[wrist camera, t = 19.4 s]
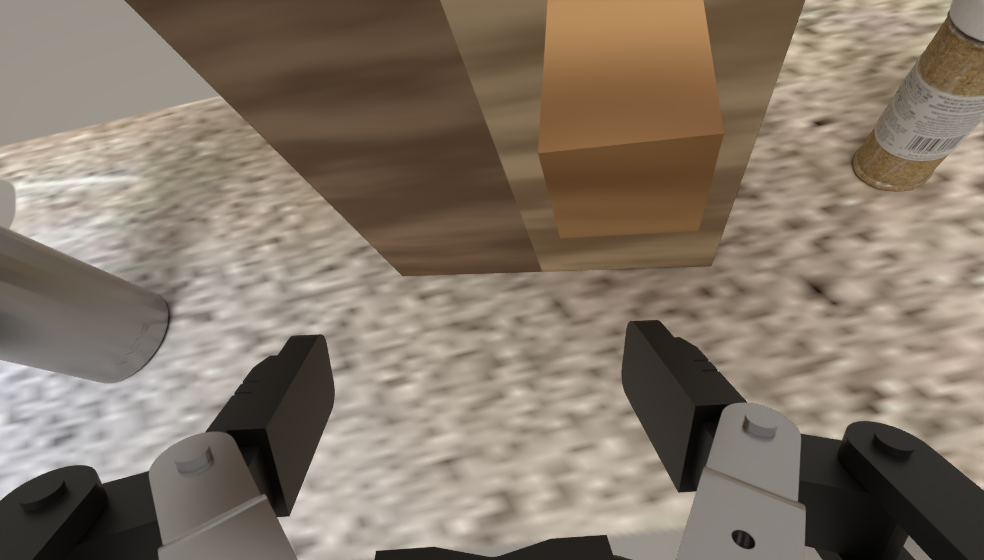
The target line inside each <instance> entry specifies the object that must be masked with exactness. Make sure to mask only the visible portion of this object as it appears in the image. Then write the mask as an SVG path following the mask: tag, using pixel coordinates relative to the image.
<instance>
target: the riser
mask: <svg viewBox="0 0 984 560" xmlns="http://www.w3.org/2000/svg"><path fill="white" fill-rule="evenodd" d="M125 1H126V2H127V3H128V4H129V5H130V6H131V7H132V8H133V9H134V10H135V11H136V12H137V13H138V14H139V15H140V16H141V17H142V18H143V19H144V20H145V21H146V22H147V23H148V24H149V25H150V26H151V27H152V28H153V29H154V30H155V31H156V32H157V33H158V34H159V35H160V36H161V37H162V38H163V39H164V40H165V41H166V42H167V43H168V44H169V45H170V46H171V47H172V48H173V49H174V50H175V51H176V52H177V53H178V54H179V55H180V56H181V57H182V58H183V59H184V60H185V61H186V62H187V63H188V64H189V65H190V66H191V67H192V68H193V69H194V70H195V71H196V72H197V73H198V74H199V75H200V76H201V77H202V78H204V80H205V81H206V82H208V84H210V86H211V87H213V89H214V90H215V91H216V92H218V93H219V94H220V95H221V96H222V97H223V98H224V99H225V100H226V101H227V102H228V103H229V104H230V105H231V106H232V107H233V108H234V109H235V110H236V111H237V112H238V113H239V114H240V115H241V116H242V117H243V118H244V119H245V120H246V121H247V122H248V123H249V124H250V125H251V126H252V127H253V128H254V129H255V130H256V131H257V132H258V133H259V134H260V135H261V136H262V137H263V138H264V139H265V140H266V141H267V142H268V143H269V144H270V145H271V146H272V147H273V148H274V149H275V150H276V151H277V152H278V153H279V154H280V155H281V156H282V157H283V158H284V159H285V160H286V161H287V162H288V163H289V164H290V165H291V166H292V167H293V168H294V169H295V170H296V171H297V172H298V173H299V174H300V175H301V176H302V177H303V178H304V179H305V180H306V181H307V182H308V183H309V184H310V185H311V186H312V187H313V188H314V189H315V190H316V191H317V192H318V193H319V194H320V195H321V196H322V197H323V198H324V199H325V200H326V201H327V202H328V203H329V204H330V205H331V206H332V207H333V208H334V209H335V210H336V211H337V212H338V213H339V214H340V215H341V216H343V217H344V218H345V219H346V220H347V221H348V222H349V223H350V224H351V225H352V226H353V227H354V228H355V229H356V230H357V231H358V232H359V233H360V234H361V235H362V236H363V237H364V238H365V239H366V240H367V241H368V242H369V243H370V244H371V245H372V246H373V247H374V248H375V249H376V250H377V251H378V252H379V253H380V254H381V255H382V256H383V257H384V258H385V259H386V260H387V261H388V262H389V263H390V264H391V265H392V266H393V267H394V268H395V269H396V270H397V271H398V272H399V273H400V274H401V275H402V276H422V275H453V274H483V273H513V272H543V271H574V270H604V269H634V268H665V267H695V266H711V265H712V263H713V260H714V257H715V254H716V251H717V248H718V246H719V243H720V240H721V237H722V234H723V231H724V229H725V226H726V223H727V220H728V217H729V214H730V212H731V209H732V206H733V203H734V200H735V197H736V195H737V192H738V189H739V186H740V183H741V180H742V178H743V175H744V172H745V169H746V166H747V164H748V161H749V158H750V155H751V152H752V149H753V147H754V144H755V141H756V138H757V135H758V132H759V130H760V127H761V124H762V121H763V118H764V115H765V113H766V110H767V107H768V104H769V101H770V98H771V96H772V93H773V90H774V87H775V84H776V81H777V79H778V76H779V73H780V70H781V67H782V65H783V62H784V59H785V56H786V53H787V50H788V48H789V45H790V42H791V39H792V36H793V33H794V31H795V28H796V25H797V22H798V19H799V16H800V14H801V11H802V8H803V5H804V2H805V0H703V1H704V8H705V14H706V20H707V27H708V33H709V40H710V46H711V53H712V59H713V65H714V72H715V78H716V85H717V91H718V98H719V104H720V110H721V117H722V123H723V130H724V136H723V140H722V143H721V147H720V151H719V155H718V159H717V163H716V166H715V170H714V174H713V178H712V182H711V186H710V189H709V193H708V197H707V201H706V205H705V209H704V212H703V216H702V220H701V224H700V228H699V231H687V232H668V233H649V234H631V235H612V236H593V237H575V238H560V236H559V232H558V228H557V225H556V221H555V217H554V213H553V209H552V205H551V202H550V198H549V194H548V190H547V186H546V182H545V179H544V175H543V171H542V167H541V163H540V160H539V156H538V144H539V128H540V112H541V97H542V81H543V66H544V50H545V34H546V19H547V3H548V0H125Z"/></svg>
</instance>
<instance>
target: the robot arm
mask: <svg viewBox="0 0 984 560" xmlns="http://www.w3.org/2000/svg"><path fill="white" fill-rule="evenodd" d="M167 324H168V308H167V305H166V303H165V301H164V300H163V299H162V297H161V296H159V295H157V294H155V293H153V292H150V291H148V290H146V289H144V288H141V287H139V286H137V285H135V284H132V283H130V282H128V281H125V280H123V279H121V278H119V277H117V276H114V275H112V274H110V273H108V272H105V271H103V270H101V269H98V268H96V267H94V266H92V265H89V264H87V263H85V262H82V261H80V260H78V259H76V258H73V257H71V256H69V255H66V254H64V253H62V252H60V251H57V250H55V249H53V248H50V247H48V246H46V245H43V244H41V243H39V242H37V241H34V240H32V239H30V238H27V237H25V236H23V235H21V234H18V233H16V232H14V231H11V230H9V229H7V228H5V227H2V226H0V360H3V361H8V362H12V363H17V364H21V365H26V366H30V367H35V368H39V369H44V370H48V371H53V372H56V373H61V374H65V375H70V376H74V377H79V378H83V379H88V380H93V381H97V382H102V383H115V382H118V381H122V380H124V379H126V378H128V377H130V376H131V375H133V374H134V373H135V372H137V371H138V370H139V369H140V368H141V367H143V366H144V365H145V364H146V363H147V362H148V360H149V359H150V358H151V357H152V355H153V354H154V353H155V351H156V350H157V348H158V347H159V345H160V343H161V341H162V339H163V337H164V334H165V332H166V328H167ZM622 384H623V388H624V392H625V394H626V396H627V398H628V400H629V402H630V404H631V405H632V407H633V409H634V411H635V413H636V415H637V417H638V418H639V420H640V422H641V424H642V426H643V428H644V430H645V431H646V433H647V435H648V437H649V439H650V441H651V443H652V444H653V446H654V448H655V450H656V452H657V454H658V456H659V458H660V459H661V461H662V463H663V465H664V467H665V469H666V471H667V472H668V474H669V476H670V478H671V480H672V482H673V484H674V485H675V487H676V489H677V491H678V492H693V491H696V495H695V498H694V501H693V505H692V508H691V511H690V515H689V518H688V521H687V525H686V528H685V531H684V535H683V538H682V541H681V545H680V548H679V551H678V554H677V558H676V560H804V549H805V546H808V547H813V548H815V549H816V551H817V552H818V554H819V555H820V557H821V558H822V559H823V560H915V559H914V558H913V557H912V556H911V554H910V553H909V552H908V551H907V550H906V549H905V548H904V547H903V546H904V544H905V542H906V539H907V537H908V535H909V536H910V537H911V538H912V539H913V540H914V541H915V542H916V543H917V544H918V545H919V546H920V548H921V549H922V550H923V551H924V552H925V553H926V554H927V555H928V556H929V557H930V558H931V559H932V560H984V490H982V489H981V488H980V487H979V486H977V485H976V484H975V483H974V482H973V481H971V480H970V479H969V478H968V477H966V476H965V475H964V474H963V473H962V472H960V471H959V470H958V469H957V468H955V467H954V466H953V465H952V464H951V463H949V462H948V461H947V460H946V459H944V458H943V457H942V456H941V455H940V454H938V453H937V452H936V451H935V450H933V449H932V448H931V447H930V446H928V445H927V444H926V443H924V442H923V441H922V440H920V439H918V438H917V437H915V436H913V435H911V434H909V433H907V432H905V431H903V430H901V429H898V428H895V427H893V426H889V425H886V424H882V423H877V422H870V421H860V422H854V423H852V424H850V425H849V426H848V427H847V429H846V431H845V434H844V437H843V439H842V441H841V440H835V439H829V438H823V437H817V436H811V435H805V434H800V432H799V430H798V428H797V427H796V425H795V424H794V423H793V422H792V421H791V420H789V419H788V418H787V417H785V416H784V415H782V414H781V413H779V412H777V411H775V410H773V409H770V408H768V407H765V406H762V405H758V404H752V403H747V402H746V400H745V399H744V398H743V397H742V396H741V395H740V394H739V393H738V392H737V391H736V389H735V388H734V387H733V386H732V385H731V384H730V383H729V382H728V381H727V380H726V378H725V377H724V376H723V375H722V374H721V373H720V372H717V369H716V367H715V366H714V365H713V364H712V363H711V362H708V359H707V358H706V356H705V355H704V354H703V353H702V352H701V351H700V350H699V349H698V348H697V347H696V346H694V345H692V344H691V343H689V342H687V341H686V340H684V339H682V338H680V337H676V338H674V337H673V336H672V334H671V333H670V332H669V331H668V330H667V329H666V327H665V326H664V325H663V324H662V323H661V322H660V321H659V320H648V321H630V322H629V323H628V325H627V329H626V337H625V346H624V354H623V363H622ZM334 396H335V388H334V381H333V375H332V370H331V365H330V359H329V354H328V348H327V343H326V339H325V337H324V336H323V335H322V334H319V335H297V336H291V337H290V338H289V340H288V341H287V343H286V344H285V346H284V347H283V348H282V350H281V351H280V353H279V354H278V355H275V356H269V357H268V358H266V359H265V360H263V361H262V362H261V363H259V364H258V365H256V366H255V367H253V369H252V370H251V371H250V373H249V374H248V375H247V377H246V378H245V379H244V381H243V384H241V385H240V386H239V387H238V389H237V390H236V391H235V395H234V396H232V397H231V398H230V400H229V401H228V402H227V404H226V405H225V406H224V408H223V409H222V410H221V412H220V413H219V414H218V416H217V417H216V418H215V420H214V421H213V422H212V424H211V425H210V426H209V428H208V429H207V431H206V432H205V433H201V434H197V435H194V436H191V437H188V438H186V439H184V440H182V441H179V442H178V443H176V444H174V445H172V446H171V447H169V448H168V449H167V450H165V451H164V452H163V453H162V454H161V455H160V456H159V457H158V458H157V459H156V460H155V461H154V462H153V464H152V466H151V468H150V470H149V471H147V472H144V473H140V474H137V475H133V476H129V477H126V478H122V479H118V480H115V481H111V482H107V483H104V484H102V483H101V481H100V479H99V476H98V474H97V472H96V471H95V469H93V468H92V467H89V466H84V465H74V466H68V467H63V468H59V469H56V470H53V471H50V472H47V473H45V474H42V475H40V476H38V477H36V478H34V479H31V480H30V481H28V482H26V483H24V484H22V485H21V486H19V487H18V488H16V489H15V490H13V491H12V492H11V493H9V494H8V495H6V496H5V497H4V498H3V499H2V500H1V501H0V560H297V558H296V555H295V553H294V551H293V549H292V547H291V545H290V543H289V541H288V539H287V537H286V535H285V533H284V531H283V529H282V527H281V525H280V523H279V521H278V519H277V517H286V516H290V513H291V511H292V508H293V506H294V503H295V501H296V498H297V496H298V493H299V491H300V488H301V486H302V483H303V481H304V478H305V476H306V473H307V471H308V468H309V466H310V463H311V461H312V458H313V456H314V453H315V451H316V448H317V446H318V443H319V441H320V438H321V436H322V433H323V431H324V428H325V426H326V423H327V421H328V418H329V416H330V413H331V411H332V408H333V404H334ZM375 560H631V559H628V558H624V557H621V556H616V555H613V553H612V550H611V548H610V544H609V541H608V538H607V535H599V536H584V537H570V538H556V539H549V540H546V541H543V542H540V543H537V544H534V545H531V546H528V547H525V548H522V549H519V550H516V551H513V552H510V553H507V554H504V555H501V556H498V557H486V556H481V555H475V554H469V553H464V552H459V551H453V550H448V549H442V548H437V547H426V548H412V549H398V550H383V551H376V555H375Z"/></svg>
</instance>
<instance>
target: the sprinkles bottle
mask: <svg viewBox="0 0 984 560" xmlns="http://www.w3.org/2000/svg"><path fill="white" fill-rule="evenodd" d="M983 119H984V0H953V2H952V3H951V6H950V10H949V12H948V15H947V18H946V20H945V22H944V23H943V24H942V26H941V27H940V29H939V31H938V32H937V33H936V35H935V36H934V38H933V40H932V41H931V42H930V44H929V45H928V47H927V49H926V50H925V51H924V52H923V53H922V55H921V56H920V57H919V59H918V60H917V62H916V63H915V65H914V66H913V68H912V69H911V71H910V72H909V74H908V76H907V77H906V79H905V80H904V82H903V83H902V85H901V86H900V88H899V89H898V91H897V92H896V94H895V95H894V97H893V98H892V100H891V101H890V103H889V105H888V106H887V108H886V109H885V111H884V112H883V114H882V115H881V117H880V118H879V120H878V121H877V123H876V126H875V128H874V129H873V131H872V133H871V134H870V136H869V137H868V139H867V140H866V142H865V143H864V145H863V146H861V147H860V149H859V150H858V151H857V152H856V153H855V155H854V160H853V166H854V170H855V172H856V174H857V176H858V177H859V178H860V179H861V180H863V181H865V182H866V183H867V184H869V185H871V186H873V187H875V188H877V189H881V190H886V191H905V190H911V189H914V188H916V187H918V186H920V185H922V184H924V183H925V182H926V181H927V180H928V179H929V178H930V177H931V176H932V174H933V172H934V170H935V169H936V167H937V166H938V165H939V164H940V163H941V162H942V161H943V160H944V159H945V158H946V157H947V156H948V155H949V154H950V153H952V152H953V151H954V150H955V149H956V148H957V147H958V146H959V145H960V144H961V143H962V142H963V141H964V139H965V138H966V137H967V136H968V135H969V134H970V133H971V132H972V131H973V130H974V129H975V128H976V127H977V126H978V124H979V123H980V122H981V121H982V120H983Z"/></svg>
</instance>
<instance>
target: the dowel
mask: <svg viewBox="0 0 984 560" xmlns="http://www.w3.org/2000/svg"><path fill="white" fill-rule="evenodd" d="M723 136H724V130H723V123H722V117H721V110H720V104H719V98H718V91H717V85H716V78H715V72H714V65H713V59H712V53H711V46H710V40H709V33H708V27H707V20H706V14H705V8H704V1H703V0H548V3H547V19H546V34H545V50H544V66H543V81H542V97H541V112H540V128H539V144H538V156H539V160H540V163H541V167H542V171H543V175H544V179H545V182H546V186H547V190H548V194H549V198H550V202H551V205H552V209H553V213H554V217H555V221H556V225H557V228H558V232H559V236H560V238H575V237H593V236H612V235H631V234H649V233H668V232H687V231H699V228H700V224H701V220H702V216H703V212H704V209H705V205H706V201H707V197H708V193H709V189H710V186H711V182H712V178H713V174H714V170H715V166H716V163H717V159H718V155H719V151H720V147H721V143H722V140H723Z"/></svg>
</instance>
